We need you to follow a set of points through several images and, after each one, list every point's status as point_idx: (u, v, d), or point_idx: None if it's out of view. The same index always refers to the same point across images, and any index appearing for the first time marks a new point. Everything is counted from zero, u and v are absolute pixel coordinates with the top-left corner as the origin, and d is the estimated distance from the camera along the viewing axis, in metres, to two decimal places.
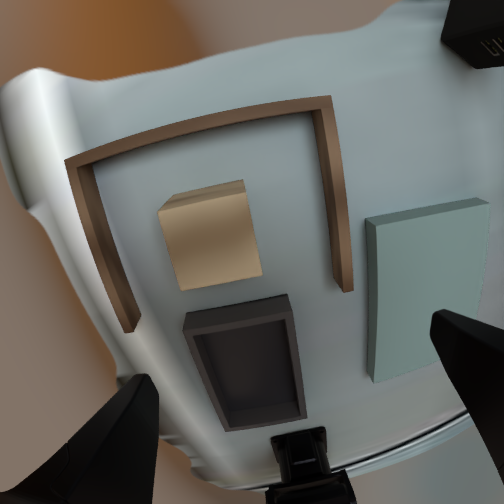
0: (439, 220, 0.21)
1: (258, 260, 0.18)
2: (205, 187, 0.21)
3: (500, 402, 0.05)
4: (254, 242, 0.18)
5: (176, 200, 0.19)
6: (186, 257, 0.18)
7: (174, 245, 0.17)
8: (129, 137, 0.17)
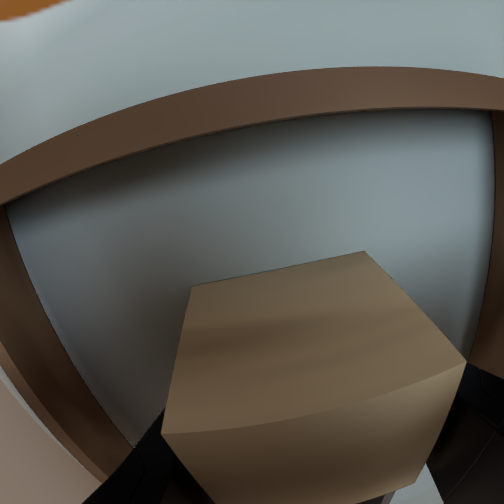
0: None
1: (419, 469, 0.05)
2: (275, 271, 0.09)
3: (441, 434, 0.05)
4: (428, 449, 0.05)
5: (212, 341, 0.06)
6: (257, 498, 0.05)
7: (224, 486, 0.05)
8: (54, 141, 0.05)
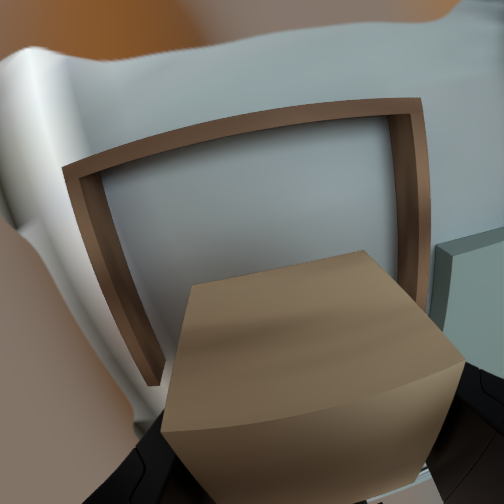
0: None
1: (419, 469, 0.05)
2: (275, 270, 0.09)
3: (441, 434, 0.05)
4: (428, 448, 0.05)
5: (211, 340, 0.06)
6: (256, 497, 0.05)
7: (223, 485, 0.05)
8: (156, 136, 0.12)
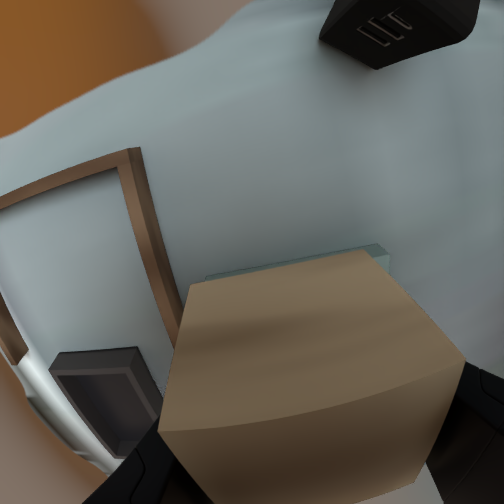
0: None
1: (419, 469, 0.05)
2: (273, 269, 0.08)
3: (441, 434, 0.05)
4: (428, 449, 0.05)
5: (209, 339, 0.06)
6: (254, 497, 0.05)
7: (221, 485, 0.05)
8: None
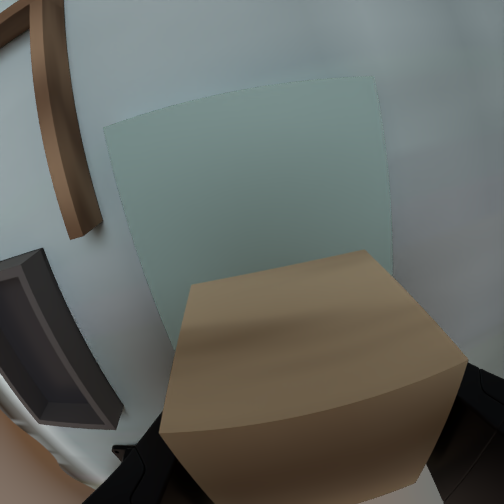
0: (236, 104, 0.12)
1: (420, 469, 0.05)
2: (275, 270, 0.08)
3: (441, 434, 0.05)
4: (429, 449, 0.05)
5: (210, 340, 0.06)
6: (256, 498, 0.05)
7: (223, 487, 0.05)
8: None
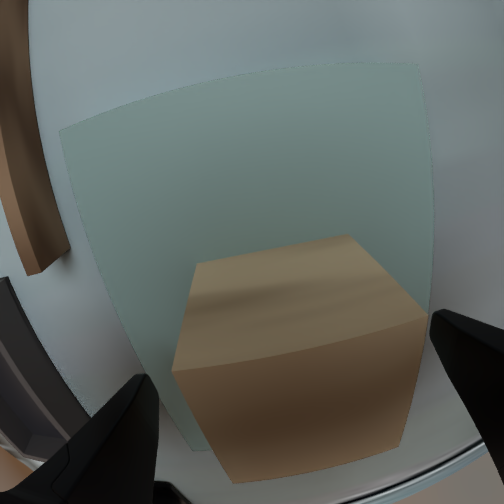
0: (236, 94, 0.08)
1: (401, 430, 0.07)
2: (269, 250, 0.10)
3: (500, 402, 0.05)
4: (406, 407, 0.06)
5: (214, 303, 0.07)
6: (252, 448, 0.06)
7: (222, 432, 0.06)
8: None
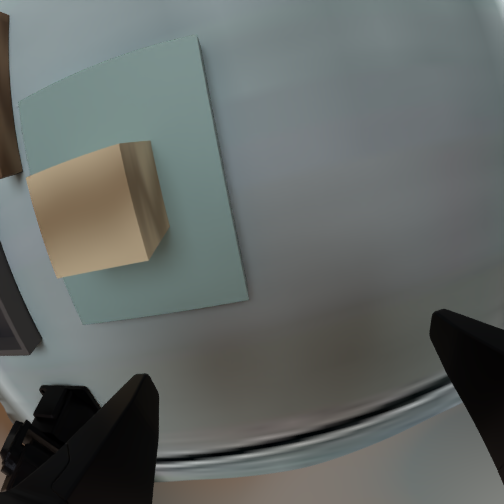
0: (92, 75, 0.14)
1: (140, 239, 0.12)
2: None
3: (500, 402, 0.05)
4: (133, 213, 0.12)
5: None
6: (57, 234, 0.12)
7: (44, 219, 0.12)
8: None
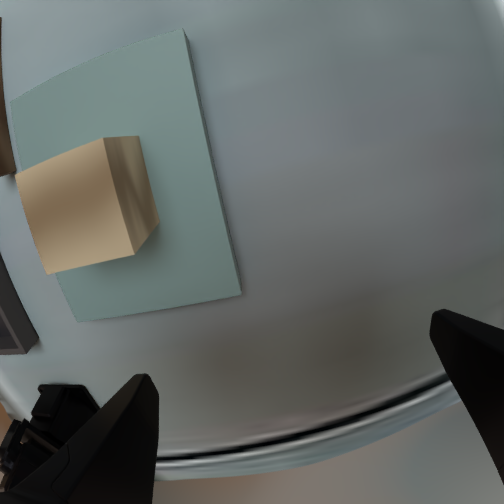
0: (81, 72, 0.13)
1: (126, 233, 0.12)
2: None
3: (500, 402, 0.05)
4: (118, 207, 0.12)
5: None
6: (46, 231, 0.12)
7: (32, 215, 0.11)
8: None
